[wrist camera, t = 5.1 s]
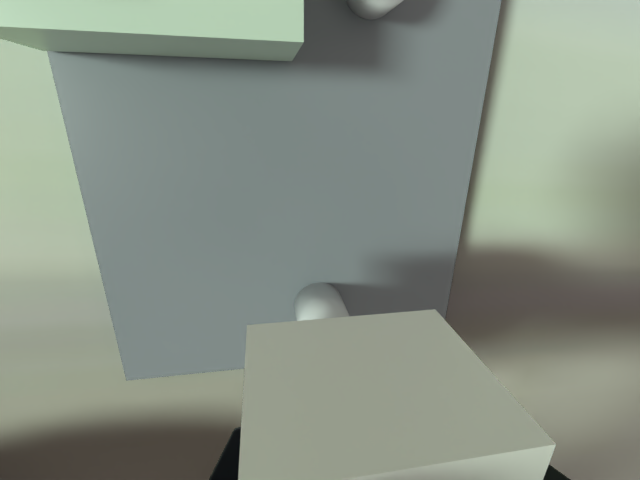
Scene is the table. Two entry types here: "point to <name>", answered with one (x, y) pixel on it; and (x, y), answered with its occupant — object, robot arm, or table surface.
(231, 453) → the robot arm
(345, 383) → the white hollow square block
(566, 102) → the table surface
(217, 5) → the cover
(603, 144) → the table surface
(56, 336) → the table surface
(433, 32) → the housing plate
